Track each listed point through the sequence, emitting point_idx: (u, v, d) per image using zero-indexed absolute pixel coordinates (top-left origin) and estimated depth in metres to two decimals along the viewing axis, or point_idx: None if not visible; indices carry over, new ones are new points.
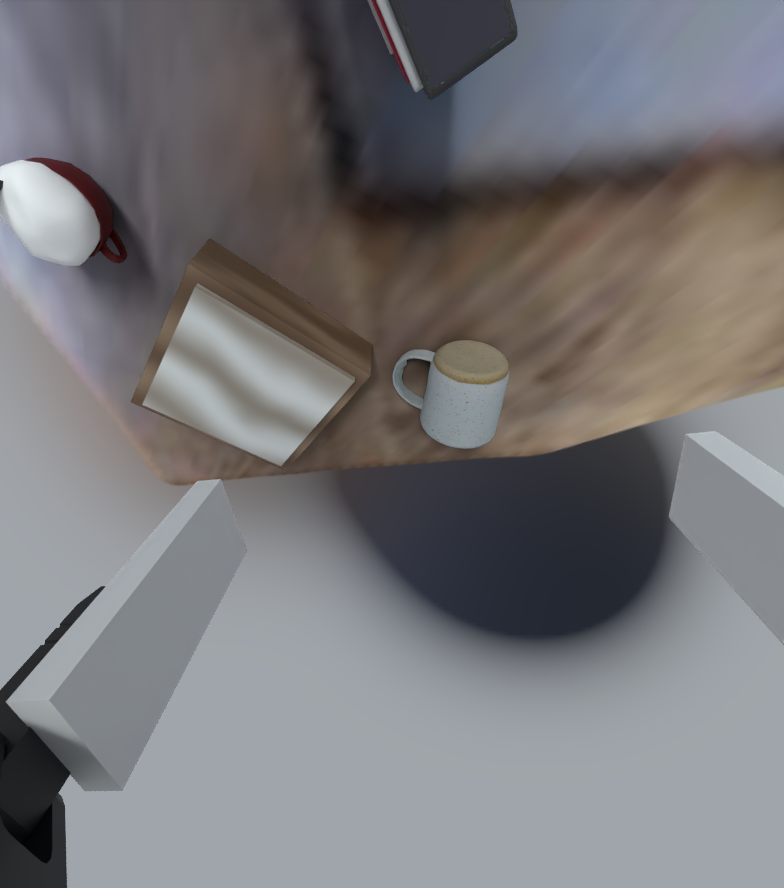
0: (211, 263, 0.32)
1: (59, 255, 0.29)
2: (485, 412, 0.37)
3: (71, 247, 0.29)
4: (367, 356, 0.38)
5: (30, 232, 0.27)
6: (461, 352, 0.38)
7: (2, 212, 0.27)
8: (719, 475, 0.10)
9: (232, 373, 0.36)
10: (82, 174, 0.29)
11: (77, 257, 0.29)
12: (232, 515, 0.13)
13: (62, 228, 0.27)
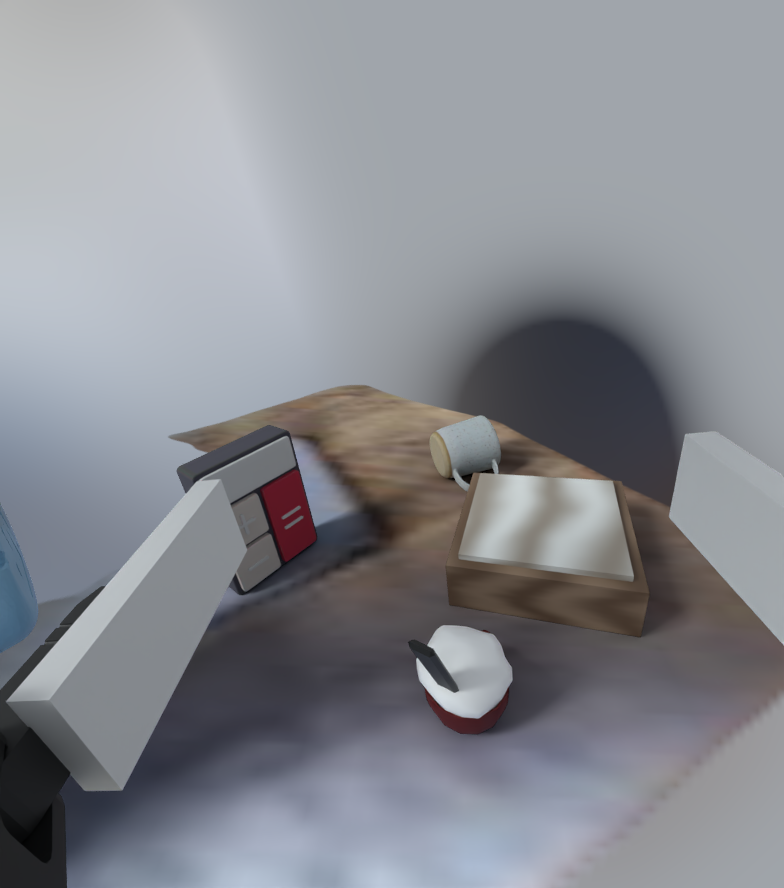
0: None
1: (485, 639, 0.30)
2: (454, 424, 0.59)
3: (472, 631, 0.31)
4: None
5: (465, 645, 0.29)
6: (440, 462, 0.58)
7: (466, 679, 0.27)
8: (719, 475, 0.10)
9: (526, 524, 0.40)
10: None
11: (484, 633, 0.31)
12: (233, 515, 0.13)
13: (453, 629, 0.31)
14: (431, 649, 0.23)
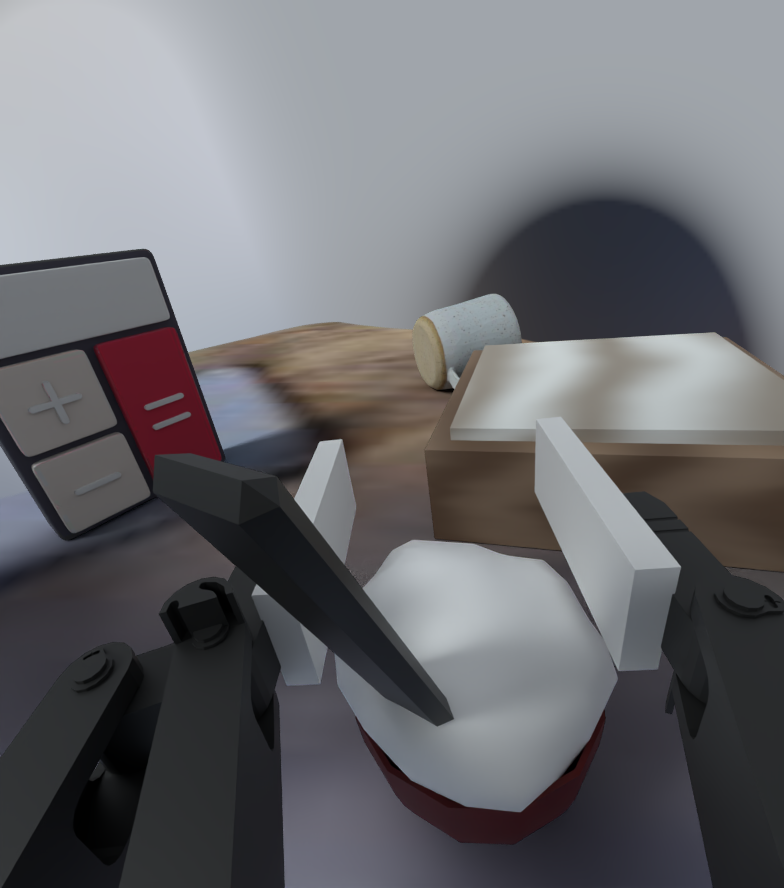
0: None
1: (526, 568, 0.11)
2: None
3: (487, 551, 0.12)
4: None
5: (471, 577, 0.10)
6: (429, 363, 0.38)
7: (476, 680, 0.08)
8: (549, 452, 0.12)
9: (578, 384, 0.21)
10: None
11: (517, 557, 0.12)
12: (348, 474, 0.14)
13: (437, 546, 0.11)
14: (260, 476, 0.03)
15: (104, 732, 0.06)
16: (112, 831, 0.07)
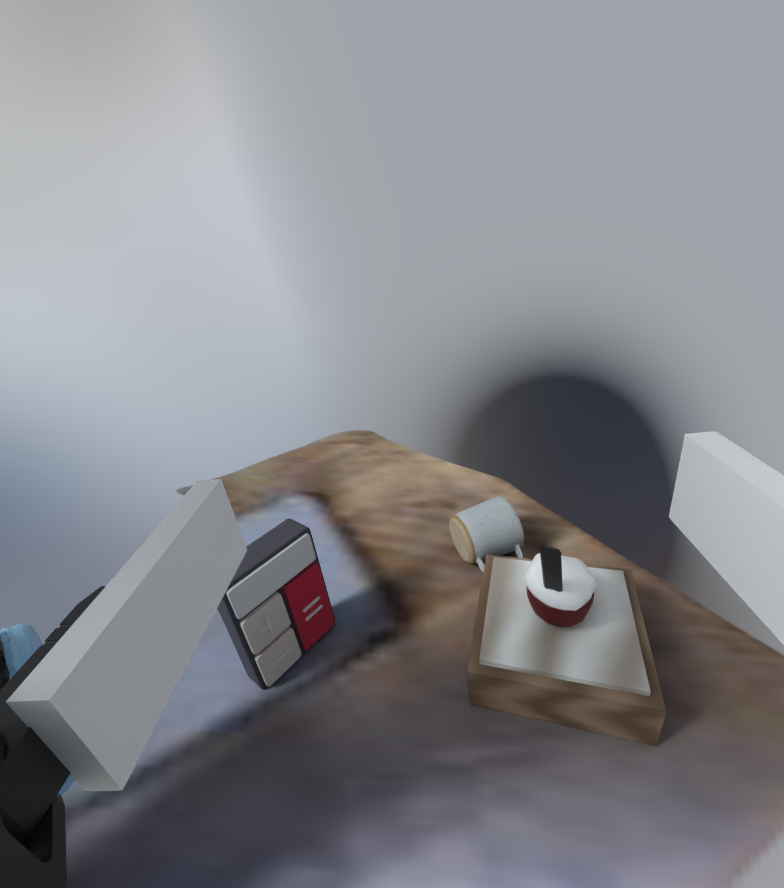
0: None
1: (573, 560, 0.41)
2: (475, 507, 0.58)
3: (562, 555, 0.42)
4: None
5: (562, 562, 0.40)
6: (463, 548, 0.57)
7: (566, 583, 0.39)
8: (719, 475, 0.10)
9: (543, 624, 0.42)
10: None
11: (570, 557, 0.42)
12: (233, 515, 0.13)
13: None
14: (557, 549, 0.34)
15: None
16: None
